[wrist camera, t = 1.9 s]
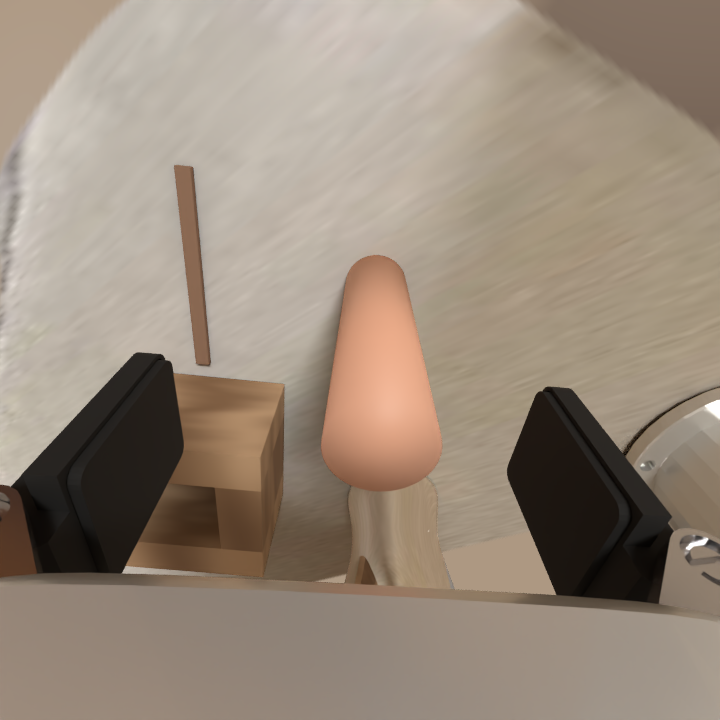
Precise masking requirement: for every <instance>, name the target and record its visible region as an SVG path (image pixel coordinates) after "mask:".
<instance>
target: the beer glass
mask: <svg viewBox="0 0 720 720" xmlns="http://www.w3.org/2000/svg"><path fill="white" fill-rule="evenodd" d="M348 507H349V513H350V519H351V525H352V550H351V557H350V561H349V566H348V571H347V575H346V579H345V584H364V585H383V586H402V587H421V588H440V589H454V586H453V583H452V580H451V578H450V575H449V573H448V570H447V567H446V564H445V561H444V558H443V555H442V552H441V548H440V544H439V539H438V537H439V536H438V531H437V516H438V496H437V491H436V489H435V487H434V485H433V483H432V482H431V481H430V480H429V479H428V478H427V477H425V478H424V479H422V480H421V481H419V482H417V483H416V484H413V485H411V486H409V487H406V488H403V489H399V490H394V491H383V492H380V491H369V490H364V489H360V488H357V487H354V486H352V487H351V489H350V491H349V495H348Z"/></svg>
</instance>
